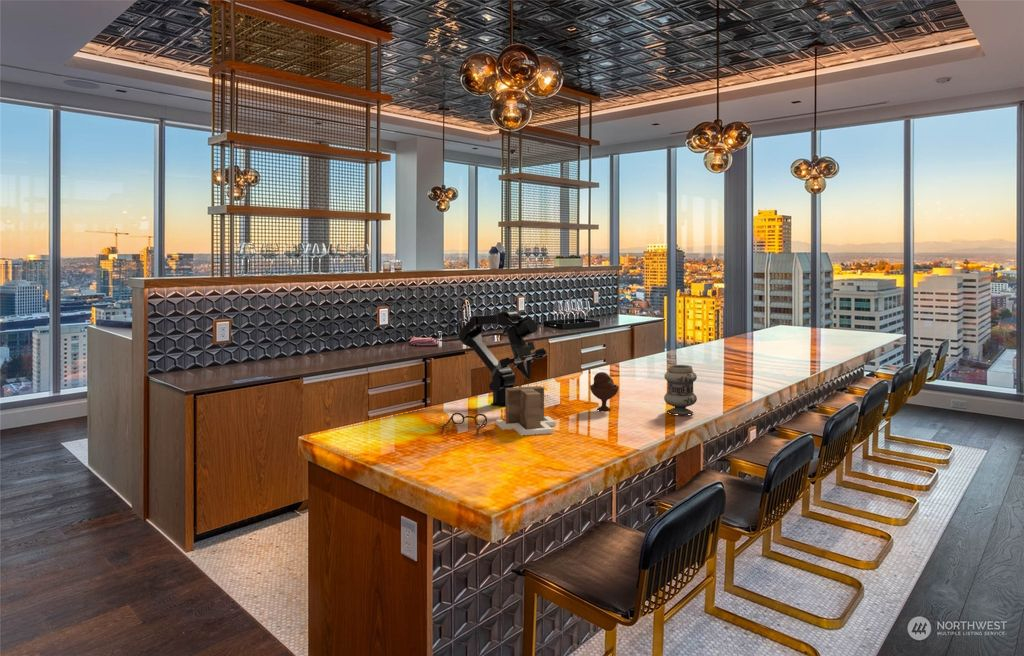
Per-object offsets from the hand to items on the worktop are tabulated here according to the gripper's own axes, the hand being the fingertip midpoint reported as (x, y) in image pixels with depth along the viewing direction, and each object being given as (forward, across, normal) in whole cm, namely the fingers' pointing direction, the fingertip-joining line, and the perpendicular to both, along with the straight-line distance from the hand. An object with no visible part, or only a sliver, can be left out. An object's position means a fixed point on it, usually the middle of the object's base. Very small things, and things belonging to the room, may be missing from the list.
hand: (528, 379), depth 251 cm
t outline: (+18, -10, -21) cm, 29 cm away
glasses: (+13, -32, -18) cm, 39 cm away
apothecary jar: (+29, +50, -11) cm, 59 cm away
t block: (+18, -10, -19) cm, 28 cm away
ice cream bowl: (+20, +25, -1) cm, 32 cm away
